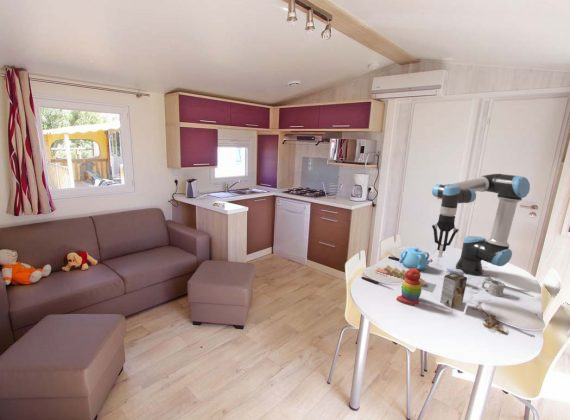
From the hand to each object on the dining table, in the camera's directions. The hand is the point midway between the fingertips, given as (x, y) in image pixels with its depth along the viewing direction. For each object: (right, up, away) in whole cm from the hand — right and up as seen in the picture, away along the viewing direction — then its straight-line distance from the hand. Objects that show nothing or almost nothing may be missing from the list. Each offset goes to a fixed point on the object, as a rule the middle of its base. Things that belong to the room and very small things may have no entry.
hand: (440, 256), depth 164 cm
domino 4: (-9, -16, +10) cm, 21 cm away
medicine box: (+15, -19, +14) cm, 27 cm away
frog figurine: (+10, -28, -27) cm, 40 cm away
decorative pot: (0, -13, +35) cm, 38 cm away
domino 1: (-20, -14, +17) cm, 30 cm away
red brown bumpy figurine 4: (-16, -15, +15) cm, 26 cm away
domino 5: (-5, -17, +7) cm, 19 cm away
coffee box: (0, -24, -11) cm, 26 cm away
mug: (+32, -22, +5) cm, 39 cm away
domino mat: (-12, -18, +12) cm, 24 cm away
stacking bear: (-21, -22, -8) cm, 31 cm away
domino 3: (-12, -16, +12) cm, 23 cm away
